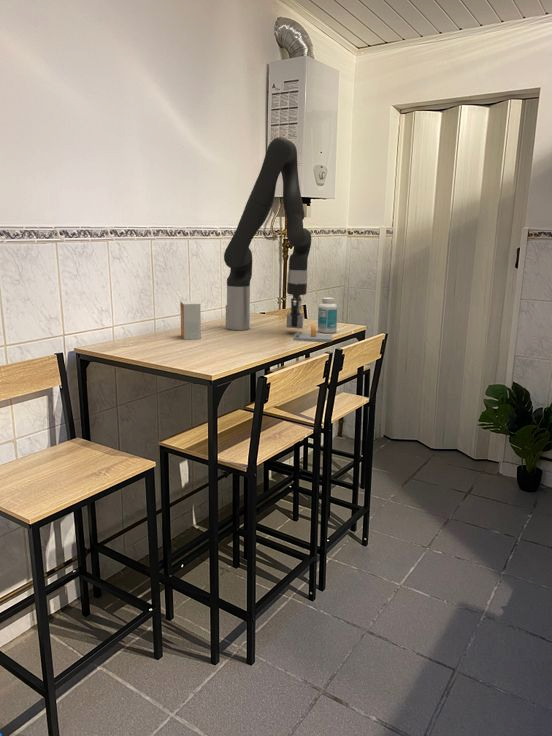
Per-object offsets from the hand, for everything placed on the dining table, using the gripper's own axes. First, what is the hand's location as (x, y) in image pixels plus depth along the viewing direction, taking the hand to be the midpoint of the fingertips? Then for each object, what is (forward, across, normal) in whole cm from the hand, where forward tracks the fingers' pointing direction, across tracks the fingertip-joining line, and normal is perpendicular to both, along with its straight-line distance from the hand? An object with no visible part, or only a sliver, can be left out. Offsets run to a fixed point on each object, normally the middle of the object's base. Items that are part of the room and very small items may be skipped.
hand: (294, 324), depth 225 cm
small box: (+4, +16, -37) cm, 41 cm away
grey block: (+1, 0, 0) cm, 1 cm away
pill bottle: (+3, -6, +12) cm, 14 cm away
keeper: (+3, +10, +8) cm, 13 cm away
